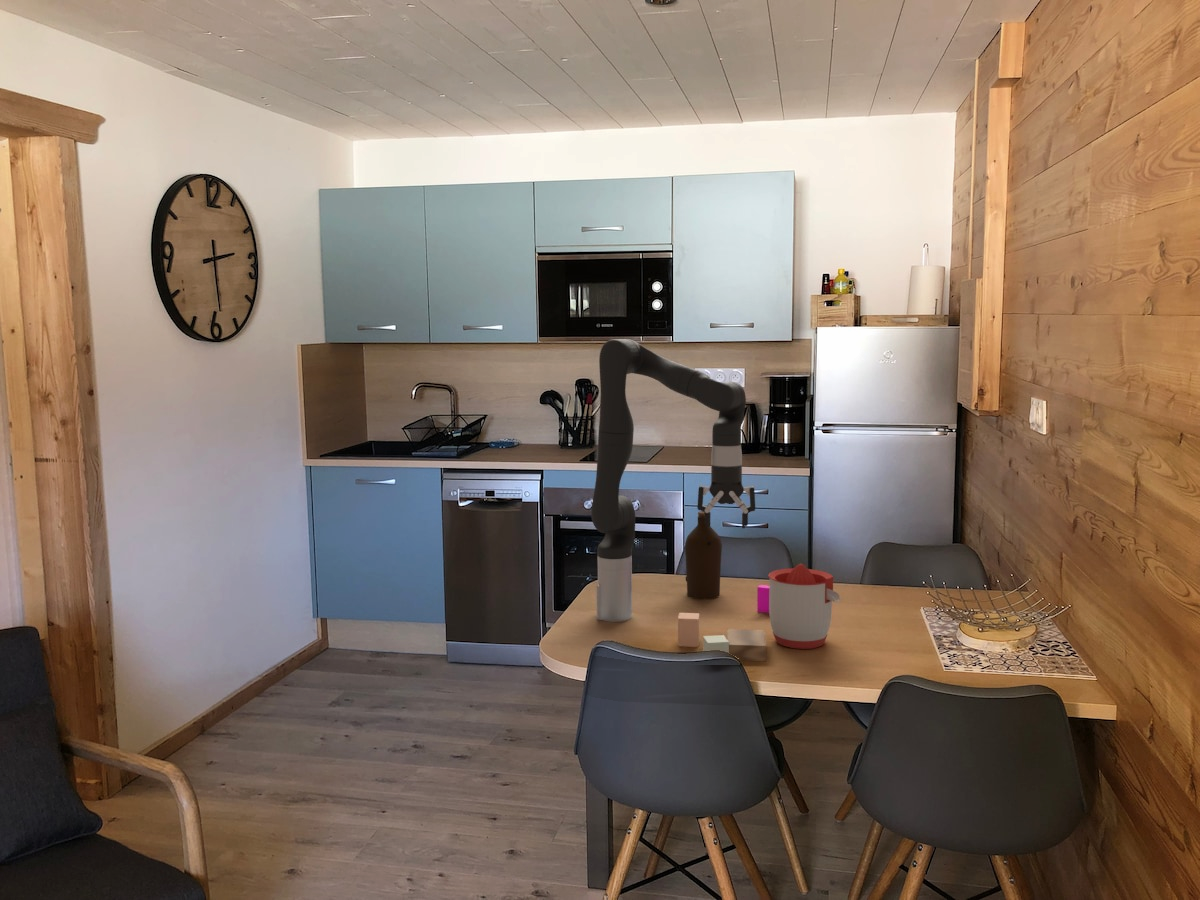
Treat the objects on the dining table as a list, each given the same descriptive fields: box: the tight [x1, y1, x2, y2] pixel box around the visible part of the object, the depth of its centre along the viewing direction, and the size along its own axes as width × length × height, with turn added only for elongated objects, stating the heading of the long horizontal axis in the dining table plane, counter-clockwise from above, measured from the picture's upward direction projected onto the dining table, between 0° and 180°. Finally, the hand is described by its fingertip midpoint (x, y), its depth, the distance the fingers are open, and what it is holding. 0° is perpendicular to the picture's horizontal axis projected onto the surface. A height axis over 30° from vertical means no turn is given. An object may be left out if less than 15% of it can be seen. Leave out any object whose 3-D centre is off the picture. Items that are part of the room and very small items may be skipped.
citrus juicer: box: [767, 563, 841, 650], centre depth 233 cm, size 16×17×20 cm
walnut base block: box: [726, 628, 767, 662], centre depth 228 cm, size 9×12×4 cm
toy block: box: [756, 584, 769, 614], centre depth 265 cm, size 15×6×8 cm, turn 152°
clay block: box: [677, 612, 700, 648], centre depth 235 cm, size 5×5×7 cm
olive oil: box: [684, 510, 723, 600], centre depth 276 cm, size 11×11×25 cm
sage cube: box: [702, 634, 729, 653], centre depth 223 cm, size 5×5×5 cm
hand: (726, 527), depth 237 cm, fingers open, 8 cm apart
